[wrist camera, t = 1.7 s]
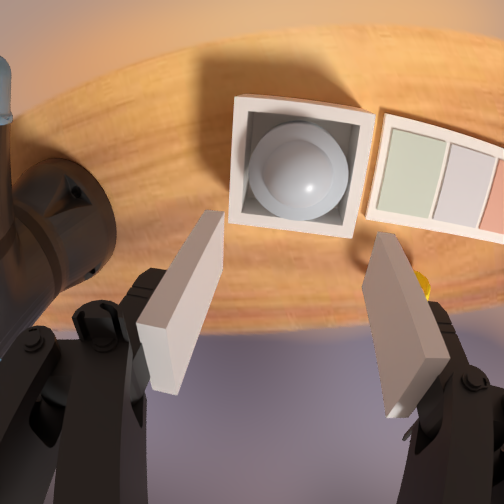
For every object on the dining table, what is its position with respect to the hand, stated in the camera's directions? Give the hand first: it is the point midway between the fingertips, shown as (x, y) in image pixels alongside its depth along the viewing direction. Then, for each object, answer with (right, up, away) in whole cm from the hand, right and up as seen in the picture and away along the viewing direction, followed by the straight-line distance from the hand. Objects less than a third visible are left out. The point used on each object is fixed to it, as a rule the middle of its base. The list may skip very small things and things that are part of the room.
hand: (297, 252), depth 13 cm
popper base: (+2, +8, +14) cm, 17 cm away
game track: (+19, +6, +13) cm, 24 cm away
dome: (+2, +7, +12) cm, 14 cm away
